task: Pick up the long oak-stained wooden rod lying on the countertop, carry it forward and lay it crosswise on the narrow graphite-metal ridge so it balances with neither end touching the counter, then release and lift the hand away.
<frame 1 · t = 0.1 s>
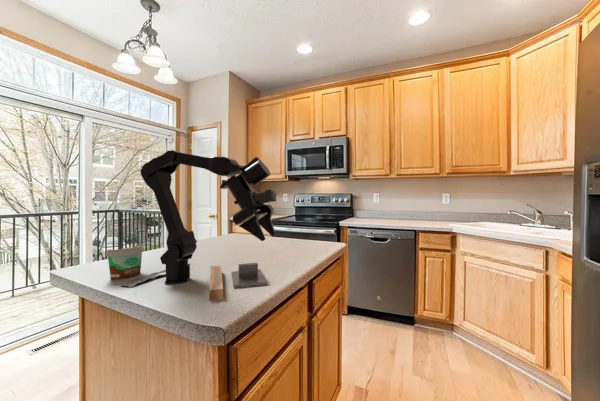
hand: (269, 237, 78), 15 cm above the countertop, tool tilted 30°, fingers open, 9 cm apart
ridge stand: (248, 279, 85), on the countertop
driftwood: (154, 279, 88), on the countertop
oak rod: (216, 285, 80), on the countertop
food container: (130, 276, 89), on the countertop
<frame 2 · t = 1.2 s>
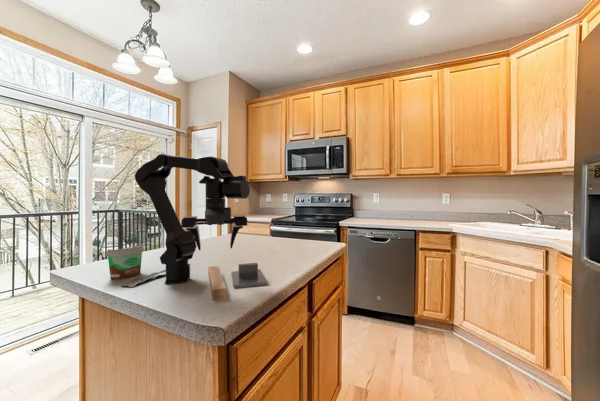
hand: (215, 249, 80), 11 cm above the countertop, tool pointing down, fingers open, 9 cm apart
nothing on the countertop moved.
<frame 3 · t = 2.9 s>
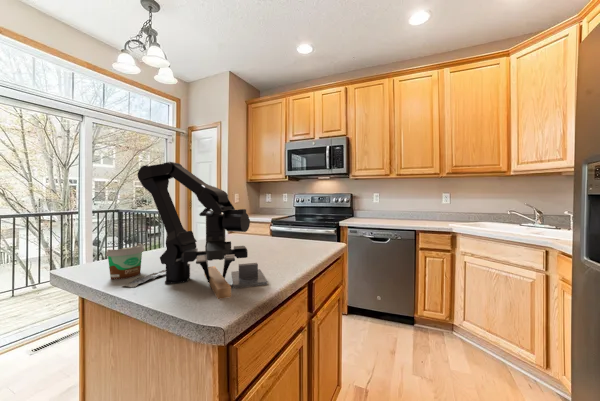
hand: (216, 281, 80), 1 cm above the countertop, tool pointing down, fingers closed on oak rod, 4 cm apart
oak rod: (216, 285, 80), on the countertop, touching gripper
everything else where it was.
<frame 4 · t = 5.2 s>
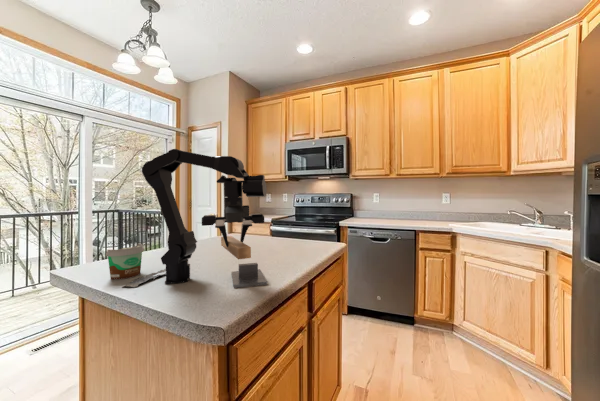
hand: (234, 246, 82), 11 cm above the countertop, tool pointing down, fingers closed on oak rod, 4 cm apart
oak rod: (234, 250, 82), point 10 cm above the countertop, touching gripper
everything else where it was.
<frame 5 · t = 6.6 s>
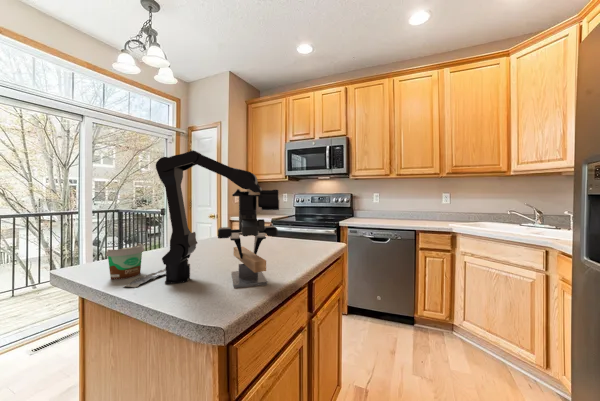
hand: (247, 258, 85), 7 cm above the countertop, tool pointing down, fingers closed on oak rod, 4 cm apart
oak rod: (248, 262, 85), point 6 cm above the countertop, touching gripper
everything else where it was.
when the fingers open (7 cm above the countertop, at t = 7.2 s): oak rod stays where it is, resting on ridge stand.
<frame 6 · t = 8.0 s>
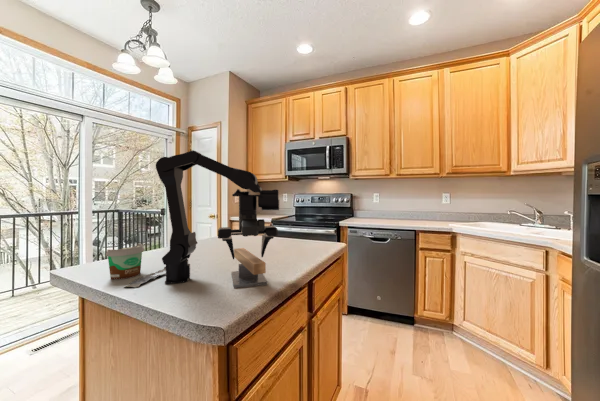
hand: (248, 258, 85), 7 cm above the countertop, tool pointing down, fingers open, 9 cm apart
oak rod: (248, 264, 85), point 5 cm above the countertop, touching ridge stand
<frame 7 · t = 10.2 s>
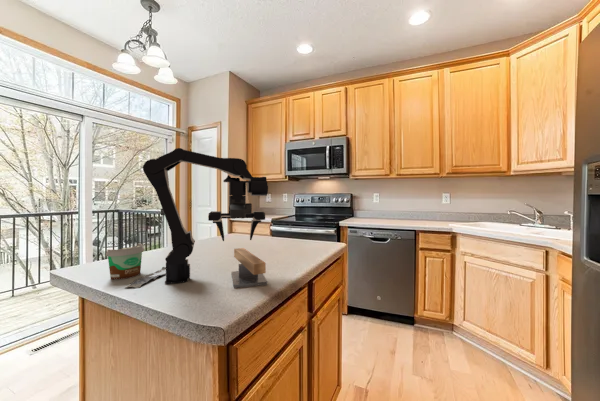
hand: (237, 240, 90), 12 cm above the countertop, tool pointing down, fingers open, 9 cm apart
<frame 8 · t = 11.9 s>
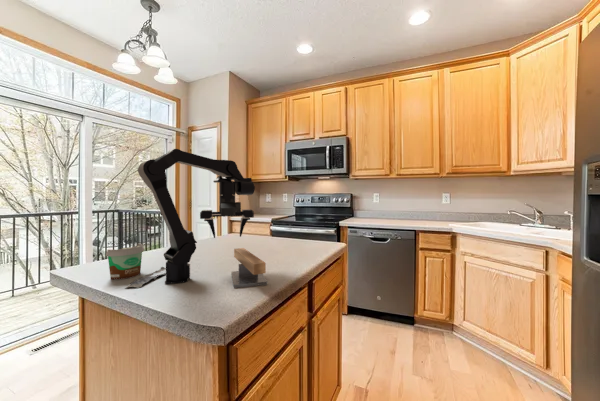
hand: (227, 237, 96), 12 cm above the countertop, tool pointing down, fingers open, 9 cm apart
at the end: oak rod 0.0 cm off-centre on the ridge stand, point 5.0 cm above the ridge stand's base; oak rod touching ridge stand; oak rod tilted 0° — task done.
